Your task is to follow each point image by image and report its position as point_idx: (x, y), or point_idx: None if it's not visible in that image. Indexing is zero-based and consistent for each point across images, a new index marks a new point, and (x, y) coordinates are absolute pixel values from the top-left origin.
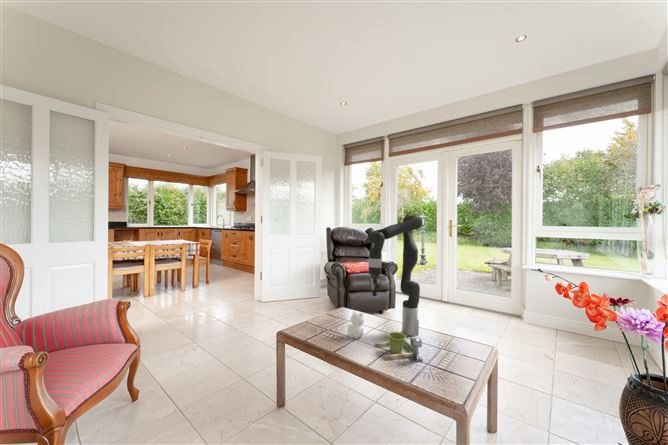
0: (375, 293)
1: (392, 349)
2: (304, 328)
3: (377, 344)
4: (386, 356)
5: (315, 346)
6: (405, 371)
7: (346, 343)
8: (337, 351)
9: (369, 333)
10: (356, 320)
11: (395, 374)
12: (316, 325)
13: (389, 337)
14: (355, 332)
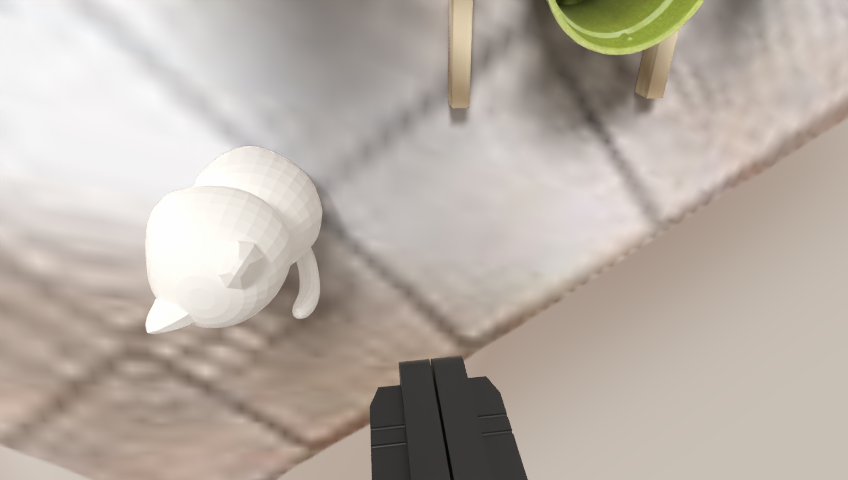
0: (494, 431)
1: (597, 6)
2: (136, 453)
3: (468, 89)
4: (659, 97)
5: None
6: (812, 26)
7: (373, 272)
8: (466, 328)
9: (181, 54)
10: (283, 282)
11: (800, 104)
12: (63, 401)
13: (616, 45)
14: (314, 236)
